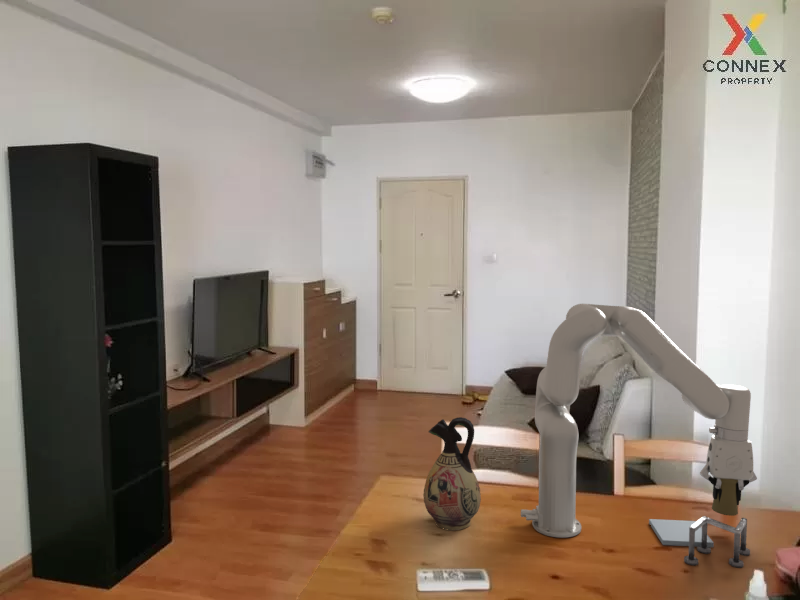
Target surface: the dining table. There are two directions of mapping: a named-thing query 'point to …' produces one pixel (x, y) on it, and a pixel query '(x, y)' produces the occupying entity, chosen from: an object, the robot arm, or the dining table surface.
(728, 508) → the cork
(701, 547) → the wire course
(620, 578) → the dining table surface
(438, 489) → the ceramic jug
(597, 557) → the dining table surface
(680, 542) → the pad
